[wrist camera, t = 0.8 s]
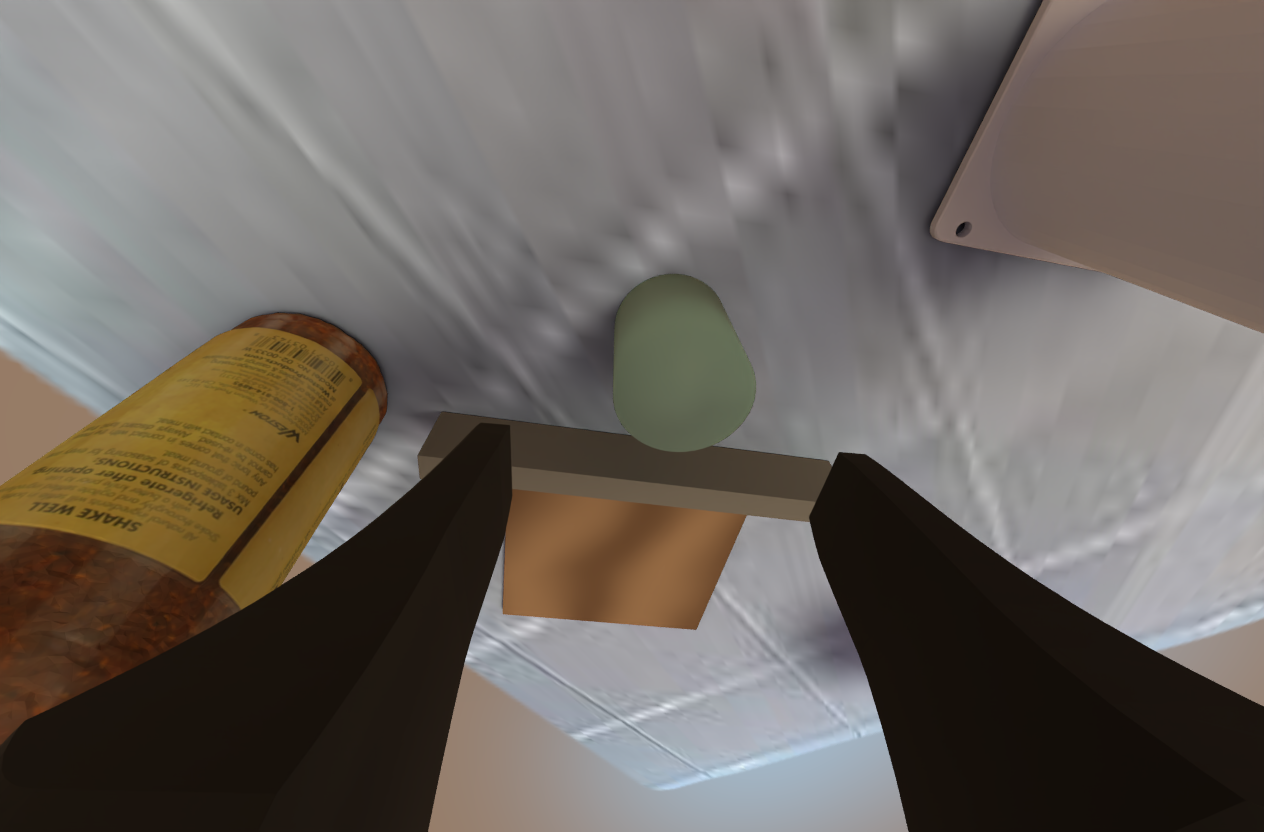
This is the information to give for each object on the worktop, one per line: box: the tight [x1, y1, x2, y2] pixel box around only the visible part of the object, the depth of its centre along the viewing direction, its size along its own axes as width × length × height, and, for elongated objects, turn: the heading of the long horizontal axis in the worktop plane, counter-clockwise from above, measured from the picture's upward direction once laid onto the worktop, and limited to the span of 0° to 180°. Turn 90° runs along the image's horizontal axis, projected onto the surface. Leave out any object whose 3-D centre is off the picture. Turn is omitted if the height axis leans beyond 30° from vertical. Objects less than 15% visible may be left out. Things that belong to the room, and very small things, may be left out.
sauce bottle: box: [0, 313, 387, 745], centre depth 12 cm, size 7×6×20 cm
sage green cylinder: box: [613, 274, 756, 452], centre depth 17 cm, size 4×4×5 cm
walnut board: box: [503, 489, 747, 630], centre depth 26 cm, size 12×12×1 cm
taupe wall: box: [418, 412, 832, 522], centre depth 21 cm, size 18×1×3 cm, turn 80°
